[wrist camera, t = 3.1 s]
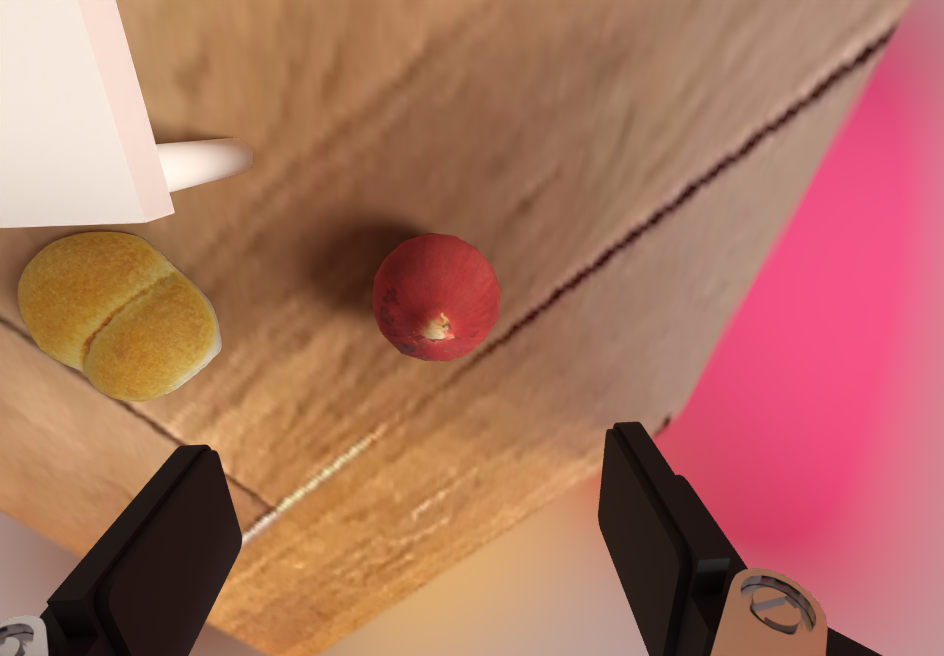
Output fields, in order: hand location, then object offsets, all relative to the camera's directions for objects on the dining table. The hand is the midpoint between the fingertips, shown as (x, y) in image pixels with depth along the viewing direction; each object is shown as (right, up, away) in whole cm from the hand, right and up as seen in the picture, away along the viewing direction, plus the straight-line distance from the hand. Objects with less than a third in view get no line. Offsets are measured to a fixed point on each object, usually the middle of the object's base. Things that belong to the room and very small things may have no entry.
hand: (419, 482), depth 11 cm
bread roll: (-17, +5, +14) cm, 22 cm away
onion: (-1, +7, +14) cm, 15 cm away
